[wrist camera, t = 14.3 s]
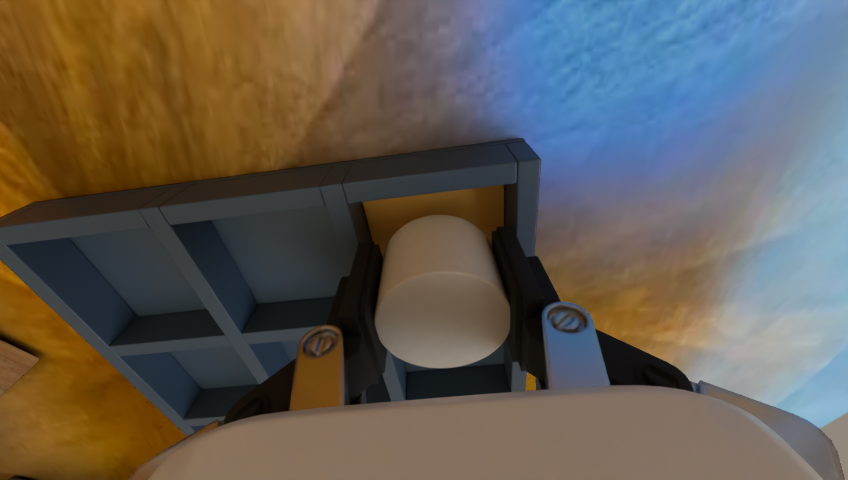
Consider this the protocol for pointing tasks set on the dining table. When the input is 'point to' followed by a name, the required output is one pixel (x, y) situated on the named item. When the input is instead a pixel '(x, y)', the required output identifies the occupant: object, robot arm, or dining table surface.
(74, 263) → the grid
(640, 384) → the robot arm
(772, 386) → the dining table surface
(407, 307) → the cylinder
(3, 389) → the tray
